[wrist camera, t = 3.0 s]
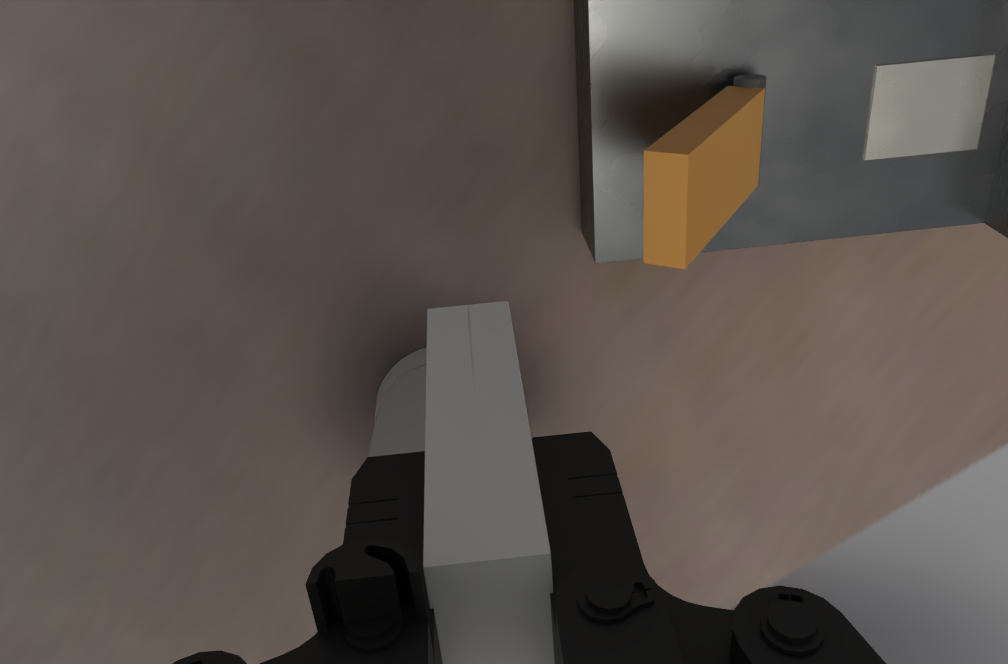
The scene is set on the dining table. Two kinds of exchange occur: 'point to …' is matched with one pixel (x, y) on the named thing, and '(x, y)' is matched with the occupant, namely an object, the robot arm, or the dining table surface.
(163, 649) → the dining table surface
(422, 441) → the cup
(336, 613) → the robot arm
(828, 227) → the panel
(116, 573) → the dining table surface
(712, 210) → the paddle
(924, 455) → the dining table surface
